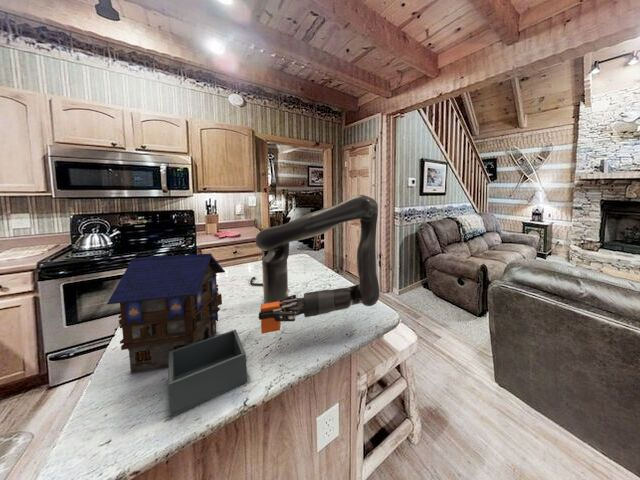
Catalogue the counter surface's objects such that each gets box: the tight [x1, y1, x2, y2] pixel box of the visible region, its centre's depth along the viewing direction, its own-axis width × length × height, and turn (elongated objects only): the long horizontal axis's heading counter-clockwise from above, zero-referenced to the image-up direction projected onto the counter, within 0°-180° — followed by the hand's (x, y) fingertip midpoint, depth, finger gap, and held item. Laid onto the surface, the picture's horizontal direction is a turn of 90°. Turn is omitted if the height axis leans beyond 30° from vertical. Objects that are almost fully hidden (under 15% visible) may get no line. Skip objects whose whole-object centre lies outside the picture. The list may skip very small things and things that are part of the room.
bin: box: [167, 329, 248, 418], centre depth 66 cm, size 15×15×8 cm
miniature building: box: [106, 252, 226, 374], centre depth 76 cm, size 19×21×30 cm
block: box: [260, 301, 282, 335], centre depth 78 cm, size 3×5×8 cm, turn 113°
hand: (260, 312), depth 77 cm, fingers closed on block, 3 cm apart
